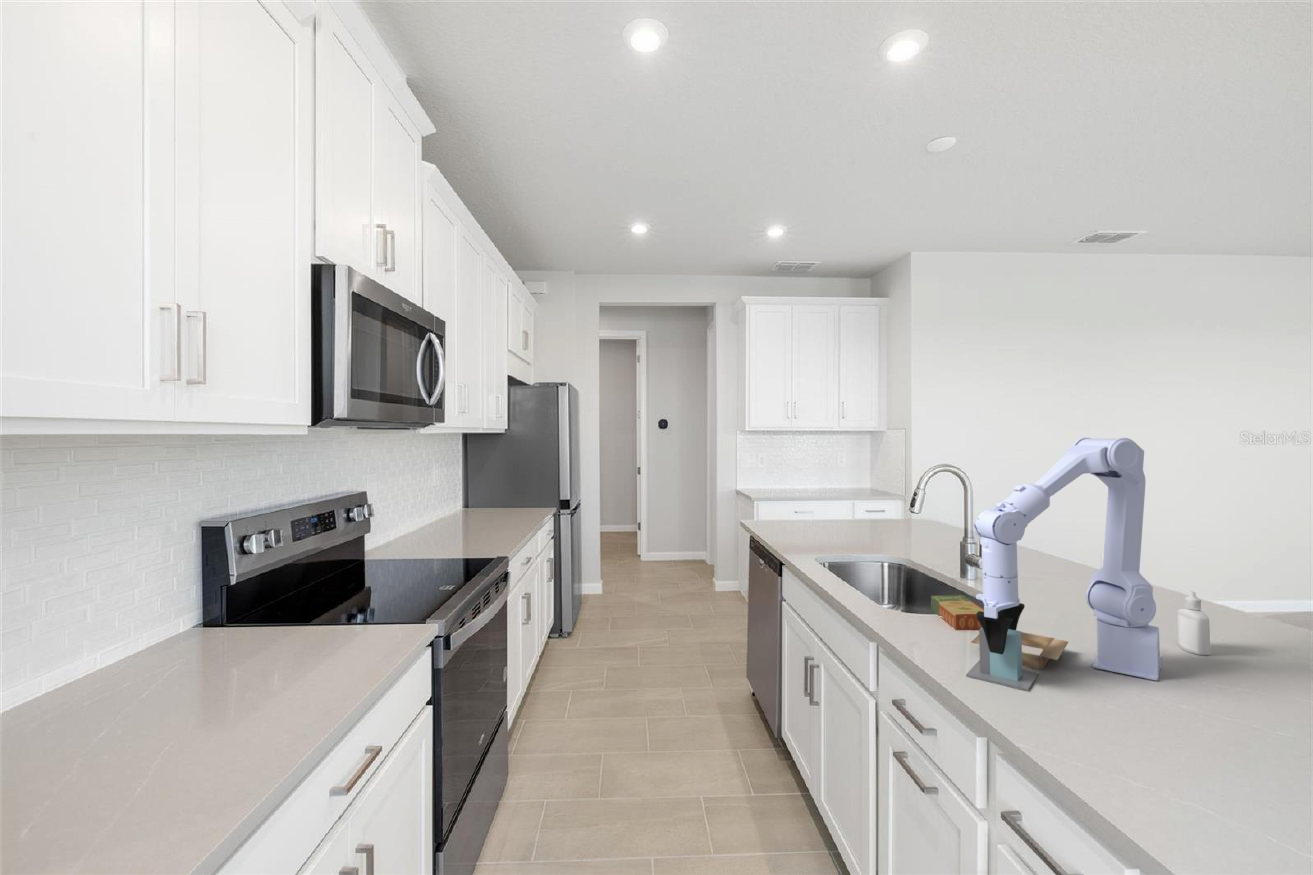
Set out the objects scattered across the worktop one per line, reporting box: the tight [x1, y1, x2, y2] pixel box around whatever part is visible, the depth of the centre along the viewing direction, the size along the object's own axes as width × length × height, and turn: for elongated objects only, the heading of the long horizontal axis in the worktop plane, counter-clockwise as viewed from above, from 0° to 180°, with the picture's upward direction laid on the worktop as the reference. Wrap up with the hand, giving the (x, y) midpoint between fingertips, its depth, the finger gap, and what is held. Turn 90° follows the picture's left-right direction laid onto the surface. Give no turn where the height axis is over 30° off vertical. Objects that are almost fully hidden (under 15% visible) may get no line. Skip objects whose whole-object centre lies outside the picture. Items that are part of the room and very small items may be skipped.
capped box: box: [978, 627, 1023, 681], centre depth 109 cm, size 6×4×8 cm
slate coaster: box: [965, 659, 1040, 692], centre depth 109 cm, size 10×9×1 cm
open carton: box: [970, 631, 1069, 671], centre depth 119 cm, size 15×13×2 cm
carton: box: [930, 594, 984, 631], centre depth 142 cm, size 8×16×4 cm, turn 173°
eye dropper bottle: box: [1177, 591, 1211, 656], centre depth 118 cm, size 4×6×12 cm
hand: (1002, 646), depth 109 cm, fingers open, 7 cm apart
